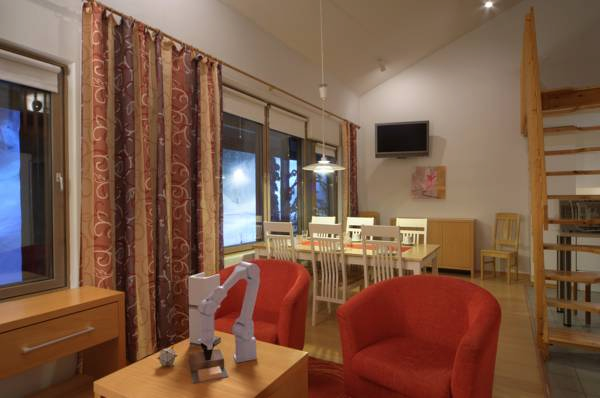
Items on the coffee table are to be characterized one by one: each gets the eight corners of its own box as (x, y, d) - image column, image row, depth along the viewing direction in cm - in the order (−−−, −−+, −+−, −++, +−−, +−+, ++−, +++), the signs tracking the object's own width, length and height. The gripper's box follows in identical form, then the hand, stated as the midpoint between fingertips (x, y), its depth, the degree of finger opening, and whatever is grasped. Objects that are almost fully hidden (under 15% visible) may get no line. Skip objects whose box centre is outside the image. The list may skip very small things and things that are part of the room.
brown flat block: (219, 357, 172) (219, 348, 172) (224, 367, 162) (224, 358, 162) (188, 362, 167) (188, 354, 166) (191, 373, 156) (191, 364, 156)
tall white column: (206, 349, 180) (205, 278, 180) (189, 346, 185) (188, 276, 184) (220, 341, 191) (219, 273, 190) (204, 337, 195) (203, 272, 195)
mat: (224, 367, 162) (224, 366, 162) (228, 376, 153) (228, 376, 153) (191, 373, 156) (191, 373, 156) (193, 383, 148) (193, 383, 148)
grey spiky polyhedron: (169, 375, 163) (168, 363, 157) (153, 367, 164) (151, 355, 158) (181, 358, 170) (181, 346, 164) (165, 350, 171) (165, 338, 165)
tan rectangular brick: (221, 372, 153) (221, 377, 153) (219, 366, 158) (219, 370, 158) (199, 376, 149) (199, 381, 149) (197, 370, 155) (197, 374, 155)
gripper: (195, 324, 164) (196, 354, 164) (199, 335, 150) (200, 368, 150) (212, 322, 166) (212, 351, 166) (217, 333, 153) (217, 365, 153)
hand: (207, 359), depth 159 cm, fingers closed
